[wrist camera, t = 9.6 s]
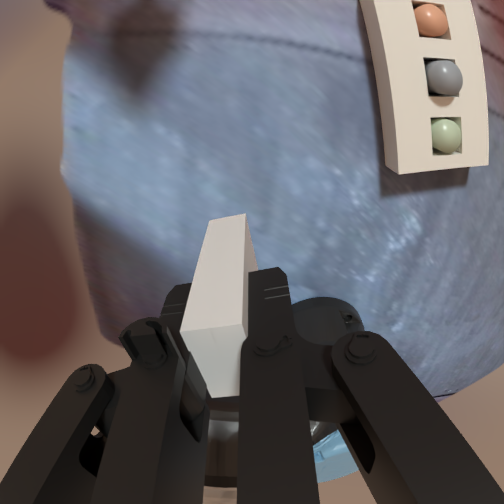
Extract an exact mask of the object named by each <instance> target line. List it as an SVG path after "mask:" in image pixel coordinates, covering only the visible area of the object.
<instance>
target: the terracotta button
mask: <svg viewBox="0 0 504 504" xmlns="http://www.w3.org/2000/svg"><path fill="white" fill-rule="evenodd" d="M413 10H414V14H415V19H416V23H417V28H418V33H419V37H426V38H430V37H435V36H441V35H443V34H444V33H445V32H446V31H447V28H448V23H447V19H446V17H445V15H444V13H443V12H442V11H441V10H440V9H439V8H438V7H436V6H434V5H432V4H424V5H422V6H419V7H416V8H414V9H413Z"/></svg>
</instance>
